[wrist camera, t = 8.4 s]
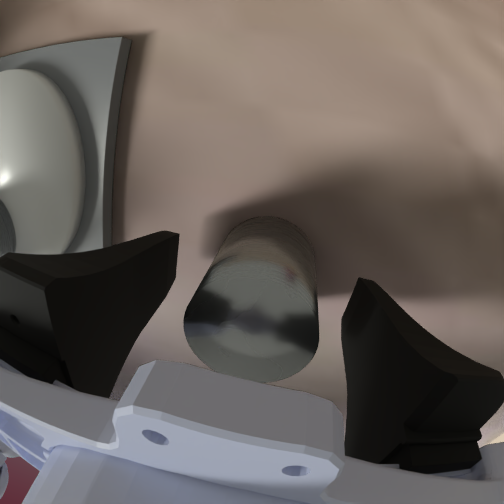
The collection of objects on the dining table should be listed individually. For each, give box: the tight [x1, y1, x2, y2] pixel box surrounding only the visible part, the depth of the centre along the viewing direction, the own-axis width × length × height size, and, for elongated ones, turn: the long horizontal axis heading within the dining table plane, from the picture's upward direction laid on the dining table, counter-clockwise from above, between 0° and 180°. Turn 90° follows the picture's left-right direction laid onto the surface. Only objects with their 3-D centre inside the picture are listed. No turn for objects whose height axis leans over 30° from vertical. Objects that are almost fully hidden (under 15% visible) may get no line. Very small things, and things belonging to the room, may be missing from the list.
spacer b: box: [184, 216, 319, 383], centre depth 11 cm, size 4×4×5 cm
